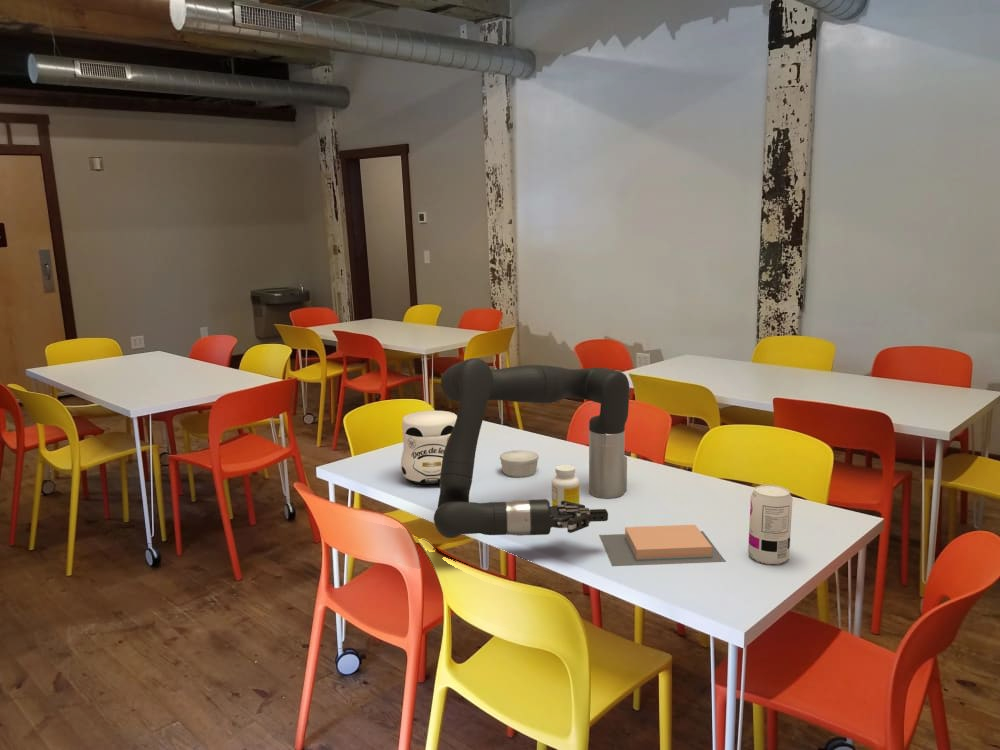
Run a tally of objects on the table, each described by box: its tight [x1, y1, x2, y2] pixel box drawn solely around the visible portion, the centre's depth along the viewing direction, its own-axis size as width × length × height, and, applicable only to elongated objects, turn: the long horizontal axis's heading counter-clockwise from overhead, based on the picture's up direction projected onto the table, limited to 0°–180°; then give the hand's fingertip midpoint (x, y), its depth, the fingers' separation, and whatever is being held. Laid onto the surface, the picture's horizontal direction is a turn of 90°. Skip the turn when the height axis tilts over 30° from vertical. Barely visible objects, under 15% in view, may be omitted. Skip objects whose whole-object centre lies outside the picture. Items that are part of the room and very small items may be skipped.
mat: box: [598, 530, 727, 567], centre depth 168 cm, size 24×16×1 cm, turn 92°
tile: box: [624, 524, 712, 561], centre depth 167 cm, size 2×12×16 cm
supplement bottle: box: [551, 464, 580, 506], centre depth 185 cm, size 7×7×13 cm
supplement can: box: [747, 484, 793, 565], centre depth 161 cm, size 8×8×15 cm
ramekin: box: [499, 449, 540, 478], centre depth 220 cm, size 11×11×5 cm
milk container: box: [400, 410, 458, 485], centre depth 215 cm, size 17×17×18 cm
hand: (607, 514), depth 165 cm, fingers closed
